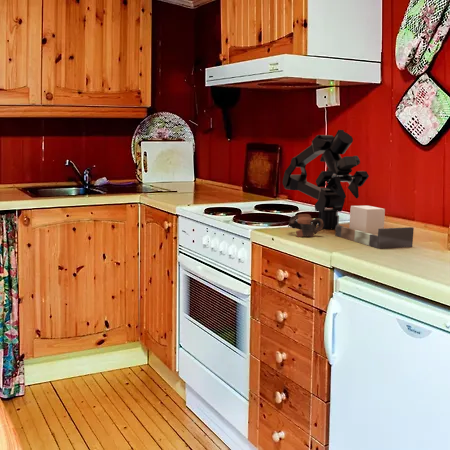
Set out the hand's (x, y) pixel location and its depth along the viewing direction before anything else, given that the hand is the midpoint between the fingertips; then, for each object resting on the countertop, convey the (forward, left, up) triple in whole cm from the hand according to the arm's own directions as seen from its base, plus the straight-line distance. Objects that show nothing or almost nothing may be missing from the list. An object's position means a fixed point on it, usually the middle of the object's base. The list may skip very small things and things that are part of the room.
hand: (351, 197), depth 213 cm
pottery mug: (-13, -10, -13) cm, 21 cm away
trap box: (+9, -9, -13) cm, 18 cm away
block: (+7, -7, -10) cm, 14 cm away
